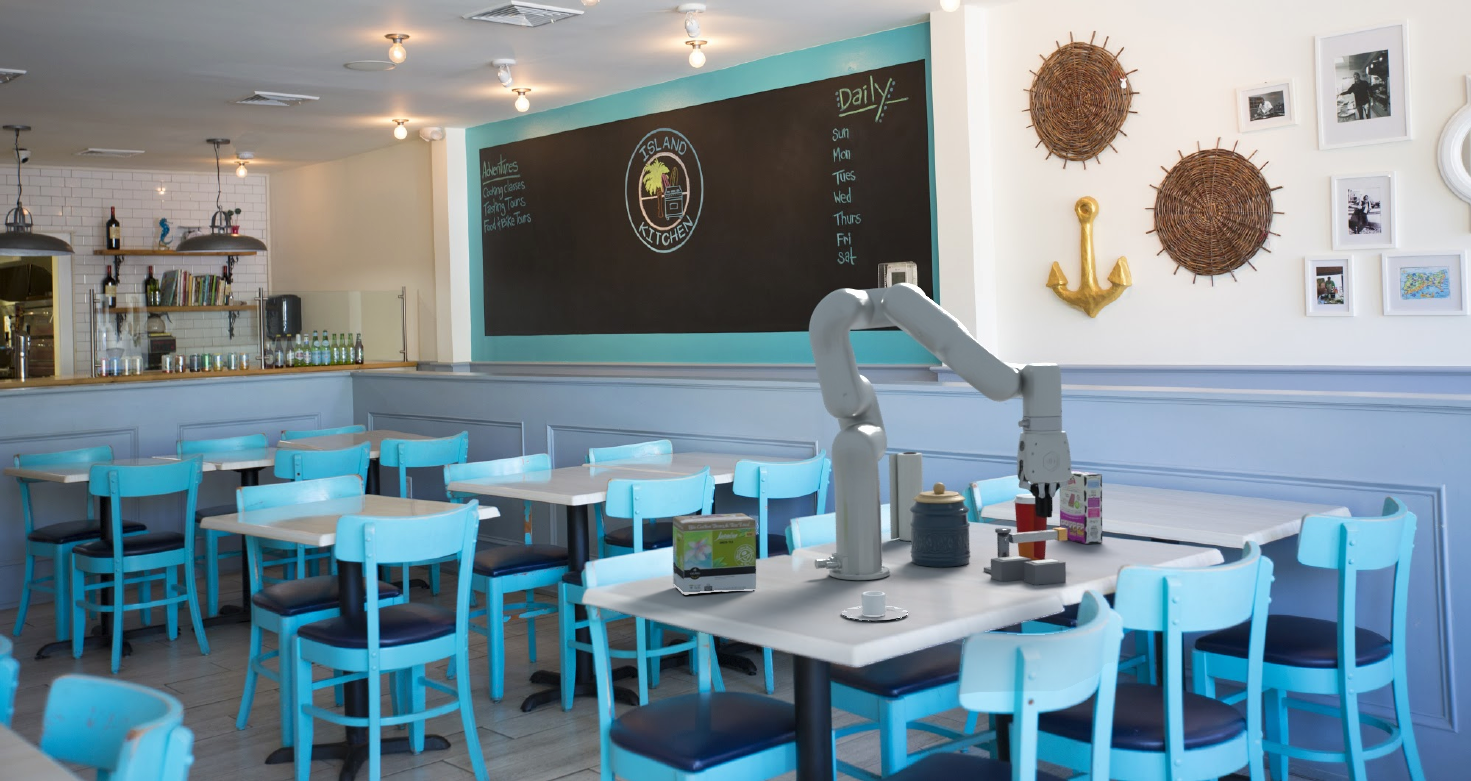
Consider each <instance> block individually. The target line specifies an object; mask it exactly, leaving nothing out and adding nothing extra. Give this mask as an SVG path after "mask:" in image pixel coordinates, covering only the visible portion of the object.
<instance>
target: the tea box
mask: <svg viewBox="0 0 1471 781" xmlns="http://www.w3.org/2000/svg"><path fill="white" fill-rule="evenodd" d="M756 523H757V522H756V519H754V518H752V517H750V516H748V515H746V514H745V513H743V512H740V513H717V514H715V513H714V514H698V515H697V514H696V515H679V516H677V515H676V516H673V517H672V561H673V562H672V566H673V567H672V571H673V572H672V577H673V579H672V581H673V582H672V583H673V584H675V585H676V586H677V587H679V588H680V589H681V590H682V591H683V592H700V591H714V590H744V589H756V590H757V552H756V551H757V546H756V544H757V542H756V540H757V538H756V537H757V536H756V534H757V531H756V529H757V528H756V527H757V526H756V525H757V524H756Z"/></svg>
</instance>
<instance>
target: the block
mask: <svg viewBox="0 0 1471 781" xmlns="http://www.w3.org/2000/svg"><path fill="white" fill-rule="evenodd" d="M1029 561H1031V559H1029V558H1026V557H1022V556H1019V555H1014V556H1013V555H1012V556H1009V557H1001V558H998V557H995V558H990V567H991V573H990V579H992V580H995V581H999V582H1001V583H1002V582H1003V583H1005V582H1011V581H1012V582H1013V581H1021V580H1022V581H1023V580H1024V562H1029Z"/></svg>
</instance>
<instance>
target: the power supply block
mask: <svg viewBox="0 0 1471 781" xmlns="http://www.w3.org/2000/svg"><path fill="white" fill-rule="evenodd" d="M1066 563H1067V562H1066V561H1063V560H1059V559H1055V558H1051V559H1050V558H1047V559H1046V558H1045V559H1044V560H1036V561H1029V562H1024V579H1023V580H1024V581H1023V582H1024V583H1027V584H1029V585H1033V584H1034V585H1033V586H1040V585H1039V584H1044V585H1051V584H1060V583H1067V577H1066V576H1067V574H1066V573H1067V572H1066V571H1067V570H1066V569H1067V568H1066V565H1067V564H1066Z"/></svg>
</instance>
